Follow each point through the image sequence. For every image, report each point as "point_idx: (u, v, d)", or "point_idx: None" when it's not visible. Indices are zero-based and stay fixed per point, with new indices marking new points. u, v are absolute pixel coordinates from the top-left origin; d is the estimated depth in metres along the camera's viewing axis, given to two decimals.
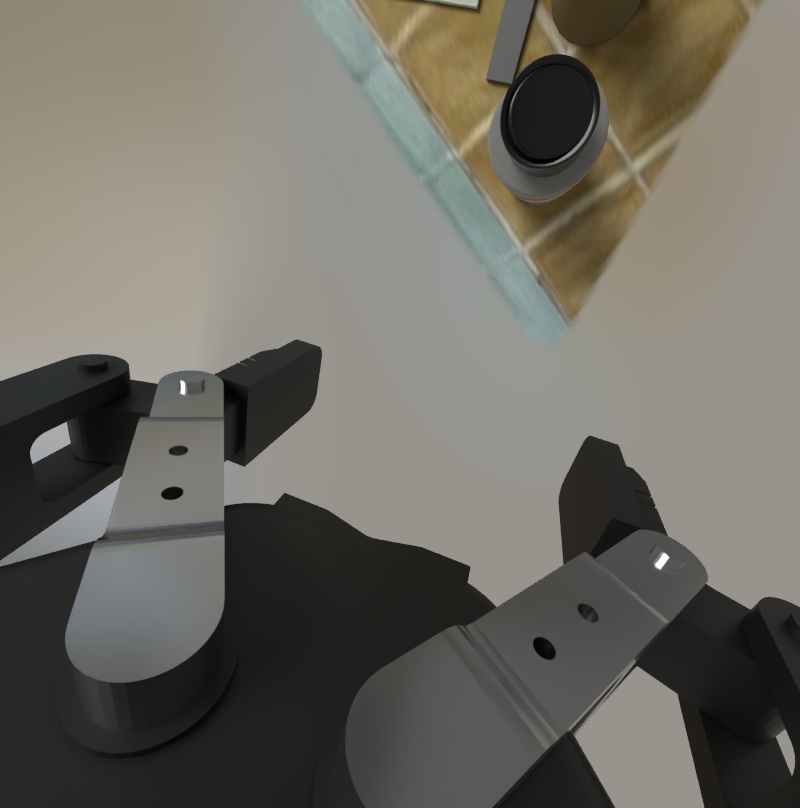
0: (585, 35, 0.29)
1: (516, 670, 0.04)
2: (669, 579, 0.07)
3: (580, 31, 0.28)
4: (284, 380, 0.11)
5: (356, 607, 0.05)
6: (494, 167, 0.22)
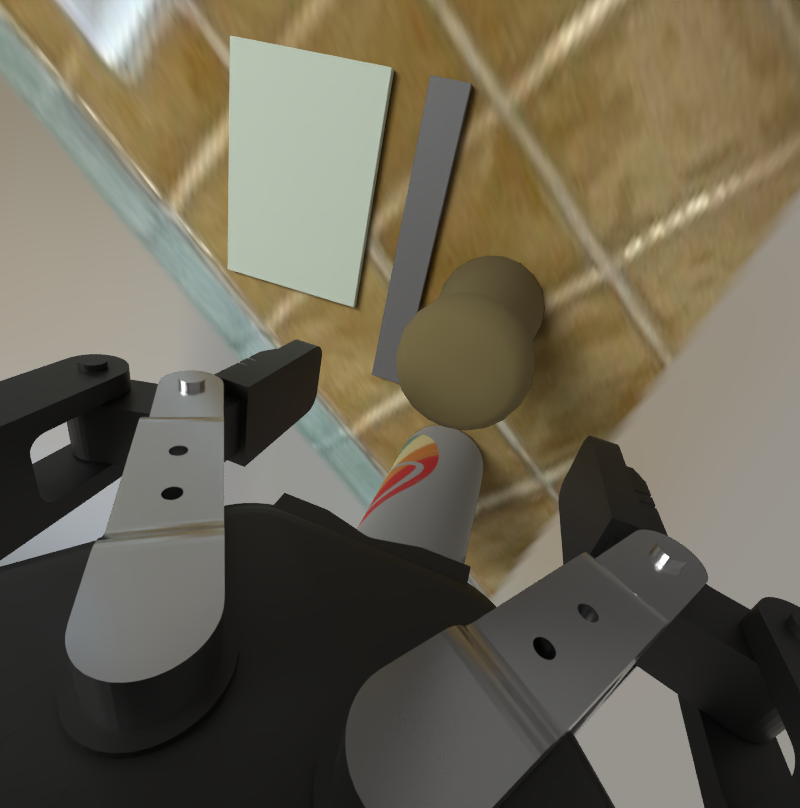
0: None
1: (516, 670, 0.04)
2: (669, 579, 0.07)
3: None
4: (284, 380, 0.11)
5: (356, 607, 0.05)
6: None
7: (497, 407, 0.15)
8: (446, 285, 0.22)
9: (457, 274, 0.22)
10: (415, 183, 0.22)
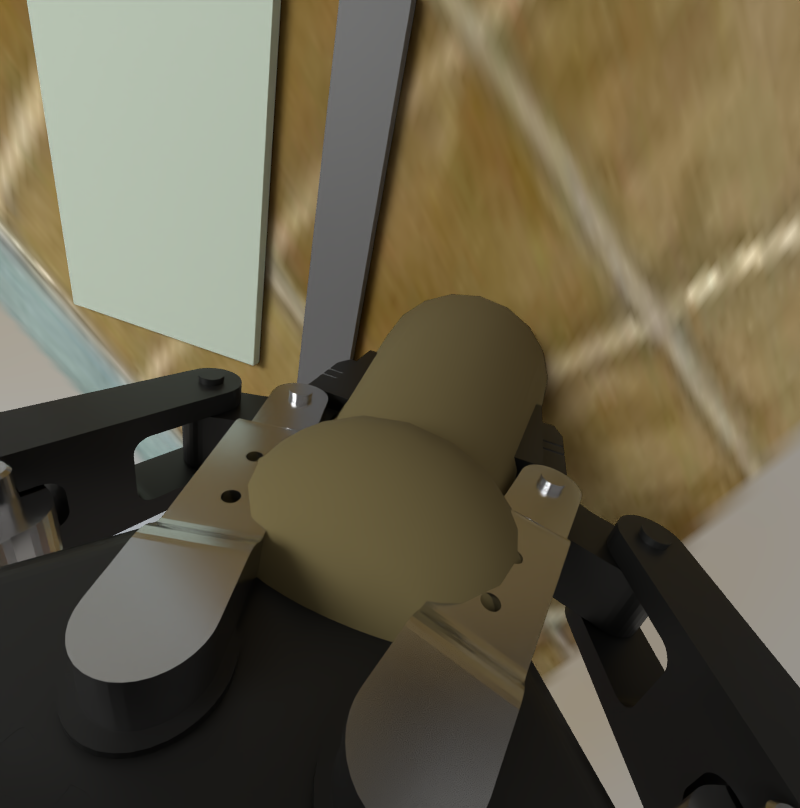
0: None
1: (516, 670, 0.04)
2: (544, 498, 0.08)
3: None
4: None
5: None
6: None
7: None
8: (382, 345, 0.13)
9: (400, 328, 0.13)
10: (329, 172, 0.13)
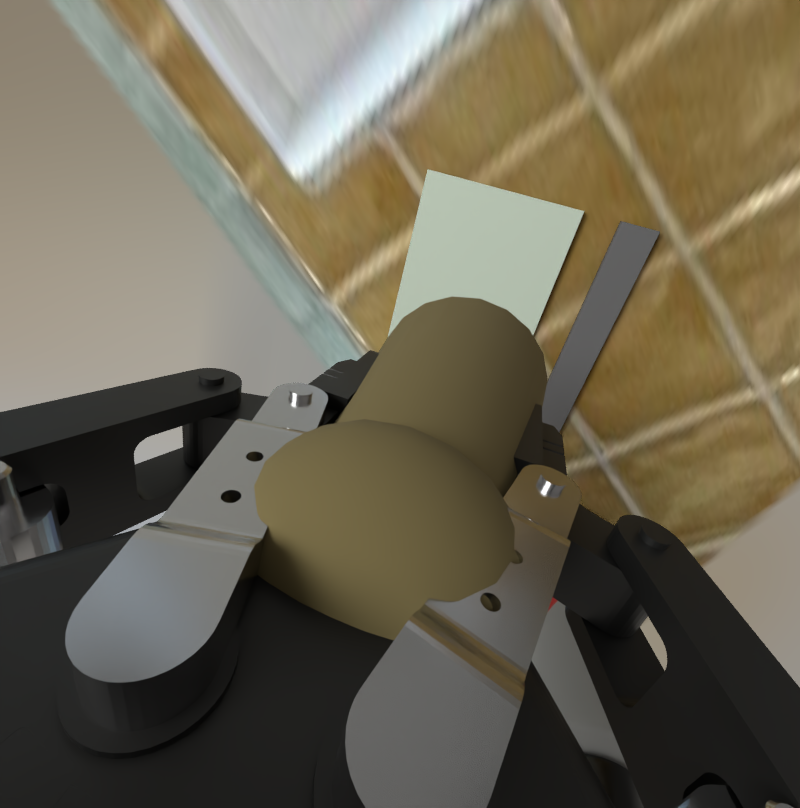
0: None
1: (516, 670, 0.04)
2: (544, 498, 0.08)
3: None
4: None
5: None
6: None
7: None
8: (382, 347, 0.13)
9: (400, 330, 0.13)
10: (588, 305, 0.24)
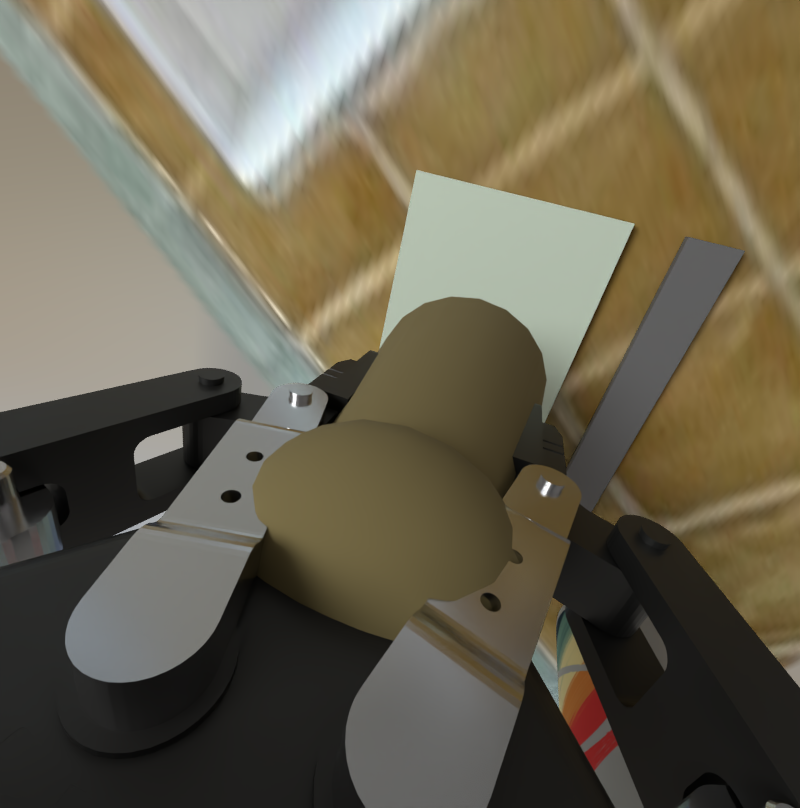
0: None
1: (516, 670, 0.04)
2: (544, 498, 0.08)
3: None
4: None
5: None
6: None
7: None
8: (381, 347, 0.13)
9: (399, 330, 0.13)
10: (638, 349, 0.18)
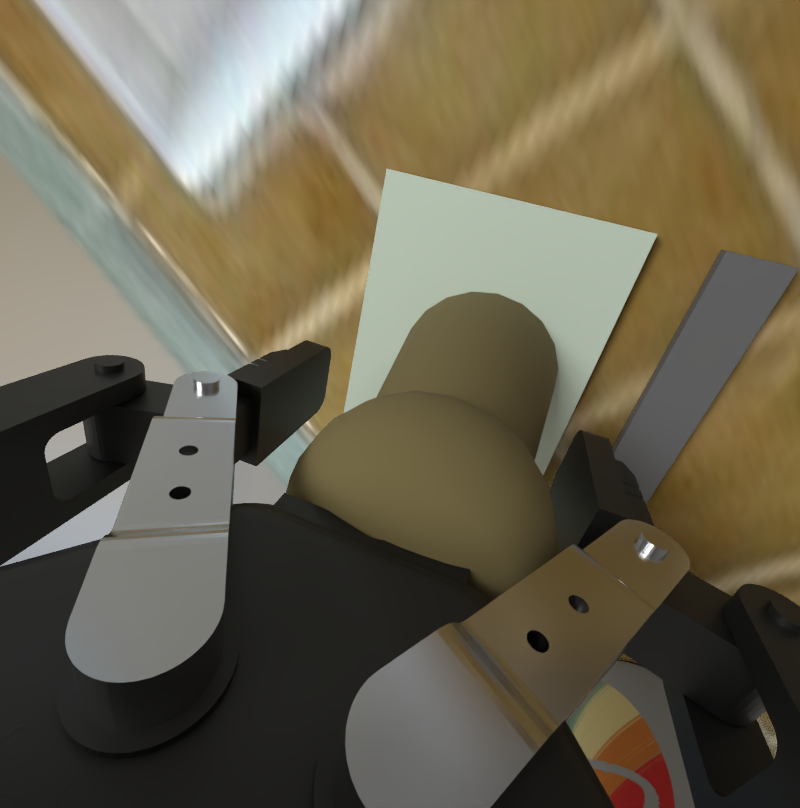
0: None
1: (516, 670, 0.04)
2: (652, 566, 0.07)
3: None
4: (295, 381, 0.11)
5: (356, 607, 0.05)
6: None
7: None
8: (409, 337, 0.14)
9: (426, 321, 0.14)
10: (660, 387, 0.15)
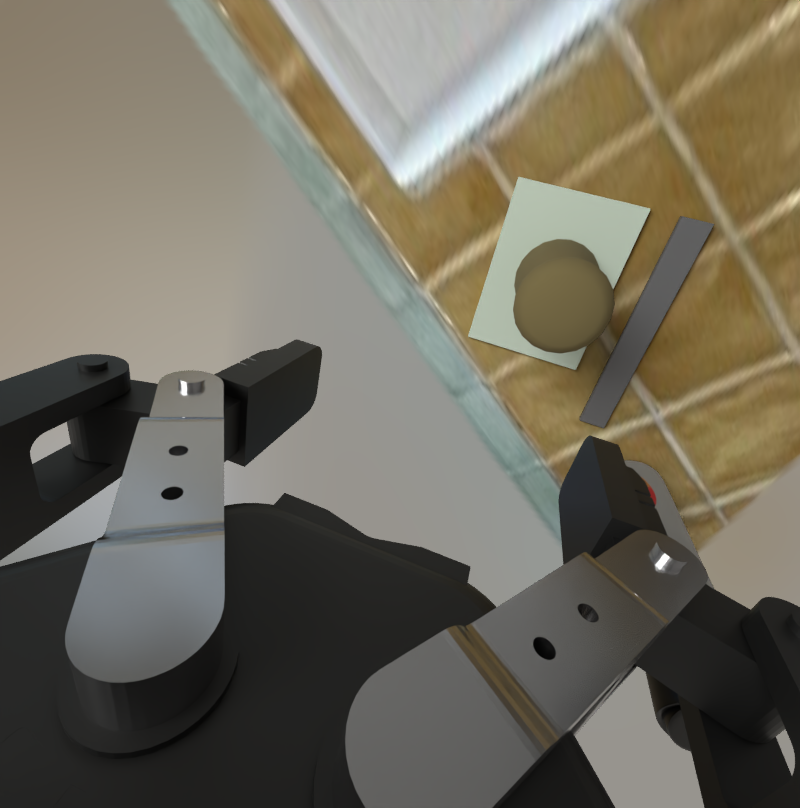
0: None
1: (516, 670, 0.04)
2: (669, 579, 0.07)
3: None
4: (284, 380, 0.11)
5: (356, 607, 0.05)
6: None
7: (589, 332, 0.22)
8: (528, 260, 0.29)
9: (537, 251, 0.29)
10: (651, 286, 0.29)
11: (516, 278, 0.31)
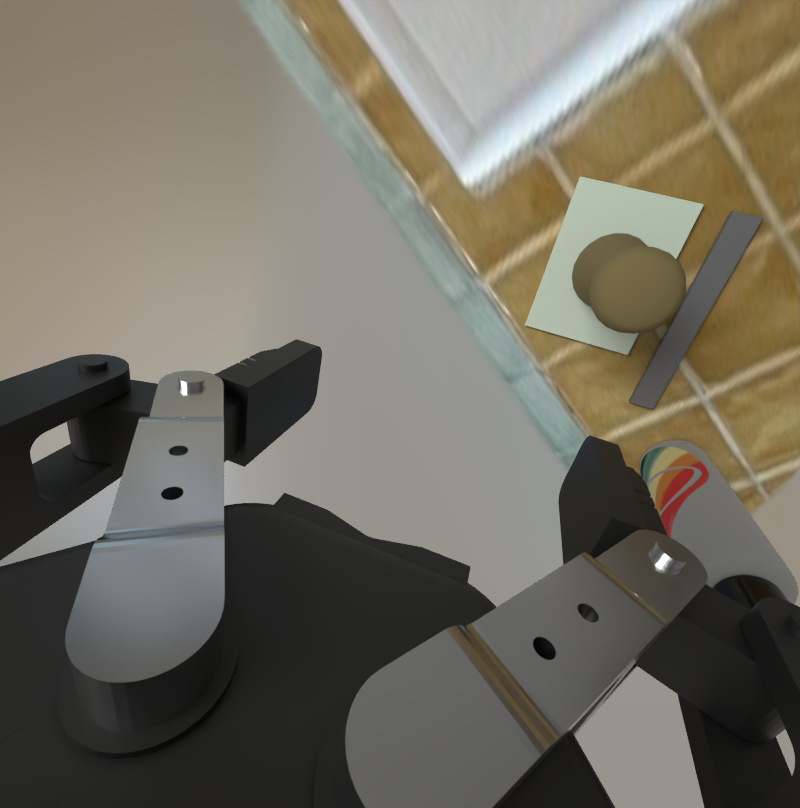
0: None
1: (516, 670, 0.04)
2: (669, 579, 0.07)
3: None
4: (284, 380, 0.11)
5: (356, 607, 0.05)
6: None
7: (664, 313, 0.24)
8: (590, 252, 0.32)
9: (598, 244, 0.32)
10: (702, 275, 0.32)
11: (575, 269, 0.33)
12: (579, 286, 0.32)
